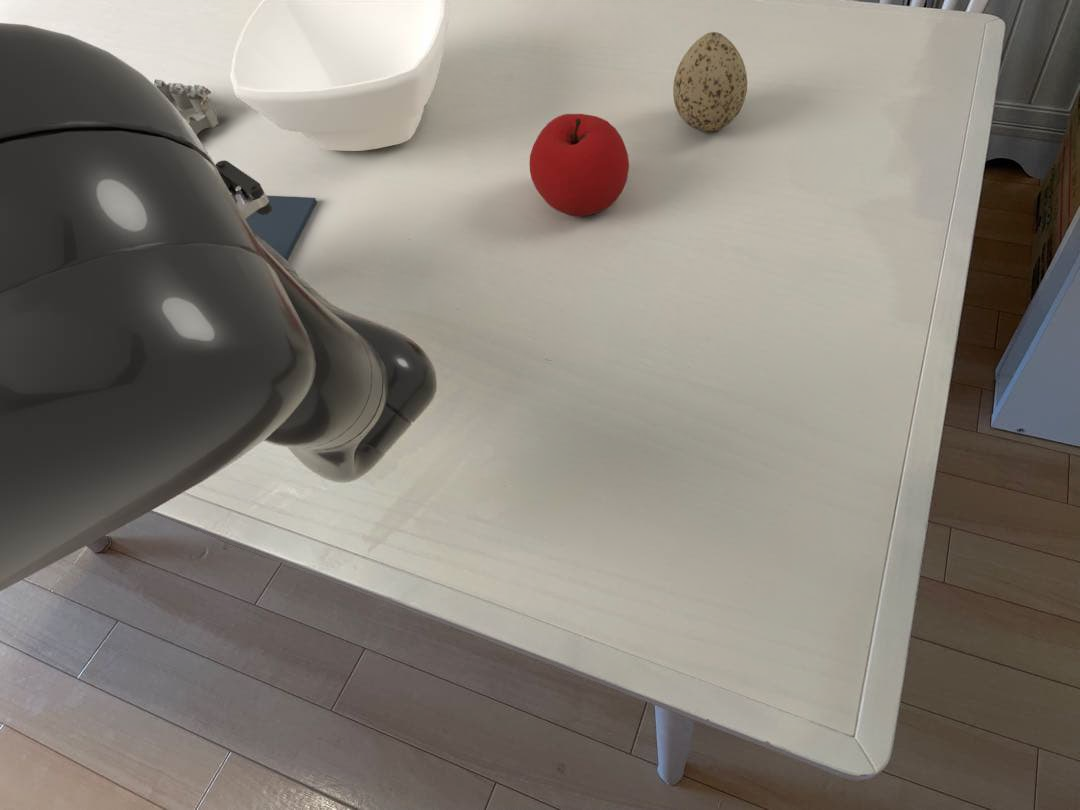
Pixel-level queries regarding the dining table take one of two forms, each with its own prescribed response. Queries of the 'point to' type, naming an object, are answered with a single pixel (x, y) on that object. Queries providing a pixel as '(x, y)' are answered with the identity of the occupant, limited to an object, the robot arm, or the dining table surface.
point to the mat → (282, 222)
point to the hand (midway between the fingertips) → (141, 189)
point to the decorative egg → (710, 83)
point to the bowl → (342, 67)
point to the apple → (579, 164)
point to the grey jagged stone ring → (191, 104)
